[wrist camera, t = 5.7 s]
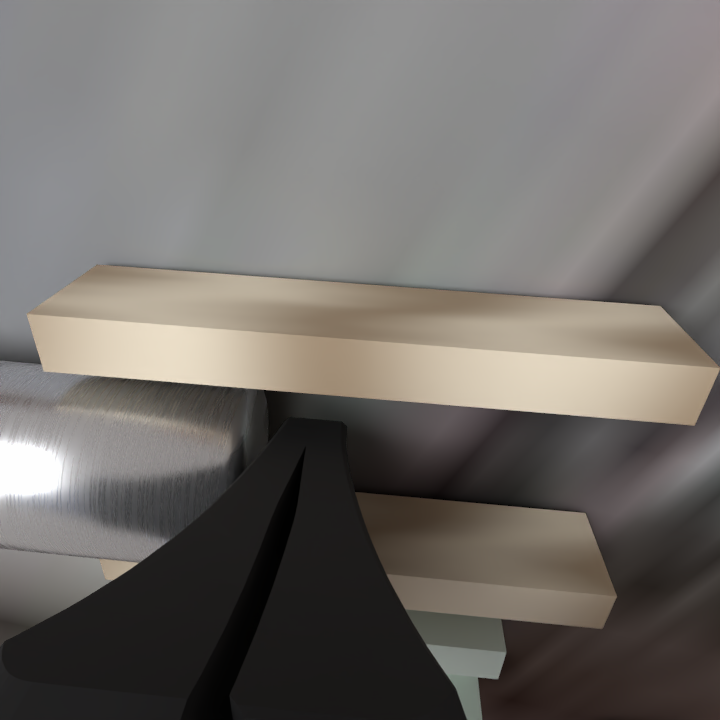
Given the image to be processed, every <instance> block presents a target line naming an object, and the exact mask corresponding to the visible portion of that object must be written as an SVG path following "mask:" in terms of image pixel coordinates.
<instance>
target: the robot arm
mask: <svg viewBox="0 0 720 720" xmlns="http://www.w3.org/2000/svg"><path fill="white" fill-rule="evenodd" d="M346 437H347V426H346V425H345V424H344V423H343V422H340V421H329V420H317V419H305V418H293V417H289V418H288V419H287V420H285V421H284V423H283V424H282V426H281V427H280V428H279V430H278V431H277V432H276V434H275V435H274V436H273V437H272V439H271V440H270V441H269V442H268V444H267V445H266V446H265V447H264V449H263V450H262V451H261V452H260V453H259V455H258V456H257V457H256V458H255V459H254V460H253V461H252V462H251V464H250V465H249V466H248V467H247V468H246V469H245V470H244V471H243V473H242V474H241V475H240V476H239V477H238V478H237V479H236V480H235V481H234V482H233V483H232V484H231V485H230V486H229V487H228V488H227V489H226V490H225V491H224V492H223V493H222V494H221V495H220V496H219V497H218V498H217V499H216V500H215V501H214V502H213V503H212V504H211V505H210V506H209V507H208V508H207V509H206V510H204V511H203V512H202V513H201V514H200V515H199V516H198V517H197V518H196V519H194V520H193V521H192V522H191V523H190V524H189V525H187V526H186V527H185V528H184V529H183V530H181V531H180V532H179V533H178V534H177V535H175V536H174V537H173V538H172V539H170V540H169V541H168V542H166V543H165V544H164V545H162V546H161V547H160V548H158V549H157V550H156V551H155V552H153V553H152V554H151V555H149V556H148V557H147V558H145V559H144V560H142V561H141V562H140V563H138V564H137V565H135V566H134V567H133V568H131V569H130V570H128V571H127V572H125V573H124V574H122V575H120V576H119V577H117V578H116V579H114V580H113V581H111V582H110V583H108V584H106V585H105V586H103V587H102V588H100V589H99V590H97V591H95V592H94V593H92V594H91V595H89V596H87V597H86V598H84V599H83V600H81V601H79V602H77V603H76V604H74V605H72V606H70V607H69V608H67V609H65V610H63V611H61V612H59V613H58V614H56V615H54V616H52V617H50V618H48V619H46V620H45V621H43V622H41V623H39V624H37V625H35V626H33V627H31V628H30V629H28V630H26V631H24V632H22V633H20V634H18V635H16V636H14V637H12V638H10V639H8V640H6V641H5V642H4V643H3V644H2V645H1V647H0V720H467V718H466V715H465V712H464V710H463V707H462V704H461V701H460V698H459V695H458V693H457V690H456V688H455V686H454V685H453V683H452V682H451V680H450V679H449V678H448V676H447V675H446V673H445V672H444V670H443V669H442V668H441V666H440V665H439V663H438V662H437V660H436V659H435V657H434V656H433V654H432V653H431V651H430V650H429V648H428V647H427V645H426V644H425V642H424V640H423V639H422V637H421V635H420V634H419V632H418V631H417V629H416V627H415V626H414V624H413V622H412V621H411V619H410V617H409V616H408V614H407V612H406V610H405V608H404V606H403V604H402V603H401V601H400V599H399V597H398V595H397V593H396V592H395V590H394V588H393V586H392V584H391V582H390V581H389V578H388V576H387V574H386V572H385V570H384V568H383V566H382V564H381V561H380V559H379V557H378V555H377V552H376V550H375V548H374V545H373V543H372V541H371V538H370V536H369V533H368V530H367V528H366V525H365V522H364V519H363V516H362V513H361V510H360V507H359V504H358V501H357V497H356V494H355V490H354V486H353V482H352V478H351V474H350V469H349V464H348V458H347V451H346Z"/></svg>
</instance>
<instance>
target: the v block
mask: <svg viewBox="0 0 720 720" xmlns="http://www.w3.org/2000/svg"><path fill="white" fill-rule="evenodd" d="M405 610H406V612H407V614H408V616H409V617H410V619H411V621H412V622H413V624H414V626H415V627H416V629H417V631H418V632H419V634H420V635H421V637H422V639H423V640H424V642H425V644H426V645H427V647H428V648H429V650H430V651H431V653H432V654H433V656H434V657H435V659H436V660H437V662H438V663H439V665H440V666H441V668H442V669H443V670H444V672H445V673H446V675H447V676H448V678H449V679H450V680H451V682H452V683H453V685H454V686H455V688H456V690H457V693H458V695H459V698H460V701H461V704H462V707H463V710H464V712H465V715H466V718H467V720H482V712H481V703H480V694H479V685H478V677H480V678H490V679H498V678H499V675H500V672H501V668H502V665H503V662H504V659H505V656H506V653H507V652H506V646H505V640H504V634H503V627H502V621H501V619H498V618H488V617H478V616H468V615H458V614H448V613H438V612H428V611H418V610H408V609H405Z"/></svg>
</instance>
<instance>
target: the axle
mask: <svg viewBox="0 0 720 720" xmlns="http://www.w3.org/2000/svg"><path fill="white" fill-rule="evenodd" d="M267 444H268V409H267V401H266V397H265V393H264V390H261V389H249V388H237V387H225V386H213V385H201V384H189V383H177V382H165V381H153V380H140V379H128V378H116V377H104V376H92V375H80V374H68V373H56V372H44V370H43V367H42V364H33V363H22V362H11V361H0V548H1V549H11V550H20V551H30V552H40V553H49V554H59V555H69V556H78V557H88V558H98V559H107V560H117V561H127V562H136V563H140V562H141V561H142V560H144V559H145V558H147V557H148V556H149V555H151V554H152V553H153V552H155V551H156V550H157V549H158V548H160V547H161V546H162V545H164V544H165V543H166V542H168V541H169V540H170V539H172V538H173V537H174V536H175V535H177V534H178V533H179V532H180V531H181V530H183V529H184V528H185V527H186V526H187V525H189V524H190V523H191V522H192V521H193V520H194V519H196V518H197V517H198V516H199V515H200V514H201V513H202V512H203V511H204V510H206V509H207V508H208V507H209V506H210V505H211V504H212V503H213V502H214V501H215V500H216V499H217V498H218V497H219V496H220V495H221V494H222V493H223V492H224V491H225V490H226V489H227V488H228V487H229V486H230V485H231V484H232V483H233V482H234V481H235V480H236V479H237V478H238V477H239V476H240V475H241V474H242V473H243V471H244V470H245V469H246V468H247V467H248V466H249V465H250V464H251V462H252V461H253V460H254V459H255V458H256V457H257V456H258V455H259V453H260V452H261V451H262V450H263V449H264V447H265V446H266V445H267Z"/></svg>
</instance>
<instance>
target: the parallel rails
mask: <svg viewBox="0 0 720 720" xmlns="http://www.w3.org/2000/svg"><path fill="white" fill-rule="evenodd" d="M27 317H28V320H29V323H30V327H31V330H32V333H33V337H34V340H35V344H36V347H37V350H38V354H39V357H40V360H41V364H42V367H43V370H44V372H56V373H68V374H80V375H92V376H104V377H116V378H128V379H140V380H153V381H165V382H177V383H189V384H201V385H213V386H225V387H237V388H249V389H261V390H273V391H285V392H297V393H309V394H322V395H334V396H346V397H358V398H370V399H382V400H394V401H406V402H418V403H430V404H442V405H454V406H466V407H478V408H491V409H503V410H515V411H527V412H539V413H551V414H563V415H575V416H587V417H599V418H611V419H623V420H635V421H647V422H660V423H672V424H684V425H695V423H696V421H697V419H698V417H699V414H700V412H701V410H702V408H703V406H704V403H705V401H706V399H707V397H708V395H709V392H710V390H711V388H712V386H713V384H714V381H715V379H716V377H717V375H718V373H719V370H720V367H719V366H718V365H717V364H716V363H715V362H714V361H713V360H712V359H711V358H710V357H709V356H708V355H707V354H706V353H705V352H704V351H703V350H702V349H701V348H700V347H699V345H698V344H697V343H696V342H695V341H694V340H693V339H692V338H691V337H690V336H689V335H688V334H687V333H686V332H685V331H684V330H683V329H682V328H681V327H680V326H679V325H678V324H677V323H676V322H675V321H674V320H673V319H672V318H671V317H670V316H669V315H668V313H667V312H666V311H665V310H664V309H663V308H662V307H661V306H653V305H639V304H626V303H612V302H599V301H585V300H571V299H558V298H544V297H530V296H517V295H503V294H490V293H476V292H462V291H449V290H435V289H422V288H408V287H394V286H381V285H367V284H353V283H340V282H326V281H313V280H299V279H285V278H272V277H258V276H245V275H231V274H217V273H204V272H190V271H176V270H163V269H149V268H136V267H122V266H108V265H96V266H95V267H93V268H92V269H90V270H89V271H87V272H86V273H85V274H83V275H82V276H80V277H79V278H77V279H76V280H75V281H73V282H72V283H70V284H69V285H67V286H66V287H65V288H63V289H62V290H60V291H59V292H57V293H56V294H55V295H53V296H52V297H50V298H49V299H47V300H46V301H45V302H43V303H42V304H40V305H39V306H37V307H36V308H35V309H33V310H32V311H30V312H29V313H27ZM355 494H356V497H357V501H358V504H359V507H360V510H361V513H362V516H363V519H364V522H365V525H366V528H367V530H368V533H369V536H370V538H371V541H372V543H373V545H374V548H375V550H376V552H377V555H378V557H379V559H380V561H381V564H382V566H383V568H384V570H385V572H386V574H387V576H388V578H389V581H390V582H391V584H392V586H393V588H394V590H395V592H396V593H397V595H398V597H399V599H400V601H401V603H402V604H403V606H404V608H405V609H408V610H418V611H428V612H438V613H448V614H458V615H468V616H478V617H488V618H498V619H508V620H518V621H528V622H538V623H548V624H558V625H568V626H578V627H588V628H598V629H603V626H604V624H605V622H606V620H607V618H608V615H609V613H610V611H611V609H612V606H613V604H614V602H615V600H616V598H617V595H616V592H615V590H614V587H613V585H612V582H611V579H610V577H609V574H608V571H607V569H606V566H605V563H604V561H603V558H602V555H601V553H600V550H599V548H598V545H597V542H596V540H595V537H594V534H593V532H592V529H591V526H590V524H589V521H588V518H587V516H586V513H579V512H568V511H557V510H546V509H535V508H524V507H513V506H502V505H491V504H480V503H469V502H458V501H447V500H436V499H425V498H414V497H403V496H392V495H381V494H370V493H359V492H355ZM100 562H101V566H102V569H103V572H104V576H105V579H107V580H114V579H116V578H117V577H119V576H120V575H122V574H124V573H125V572H127V571H128V570H130V569H131V568H133V567H134V566H135V565H137V564H138V563H136V562H127V561H117V560H107V559H100Z"/></svg>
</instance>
